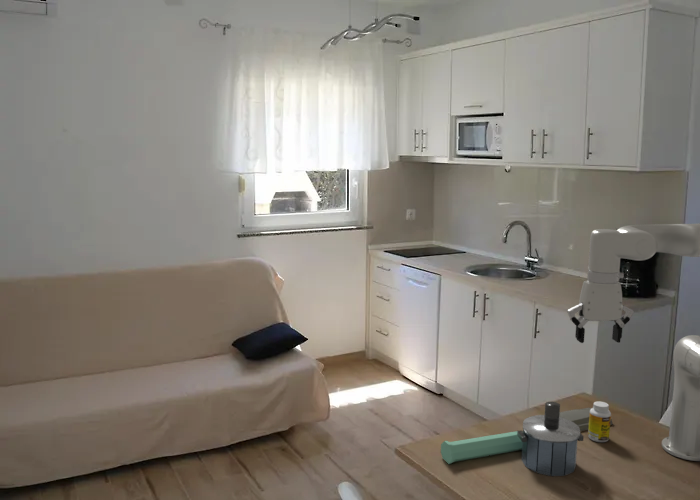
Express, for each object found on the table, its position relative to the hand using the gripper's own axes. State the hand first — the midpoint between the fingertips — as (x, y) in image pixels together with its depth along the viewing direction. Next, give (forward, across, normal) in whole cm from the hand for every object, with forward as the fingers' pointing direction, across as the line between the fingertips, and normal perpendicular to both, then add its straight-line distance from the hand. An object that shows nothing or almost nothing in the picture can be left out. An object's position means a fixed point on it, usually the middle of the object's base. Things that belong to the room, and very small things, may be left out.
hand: (598, 341), depth 170 cm
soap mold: (+31, -2, -16) cm, 35 cm away
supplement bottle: (+31, -5, -6) cm, 31 cm away
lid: (+21, +14, +7) cm, 26 cm away
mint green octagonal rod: (+31, +28, +2) cm, 42 cm away
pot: (+30, +14, +7) cm, 34 cm away
